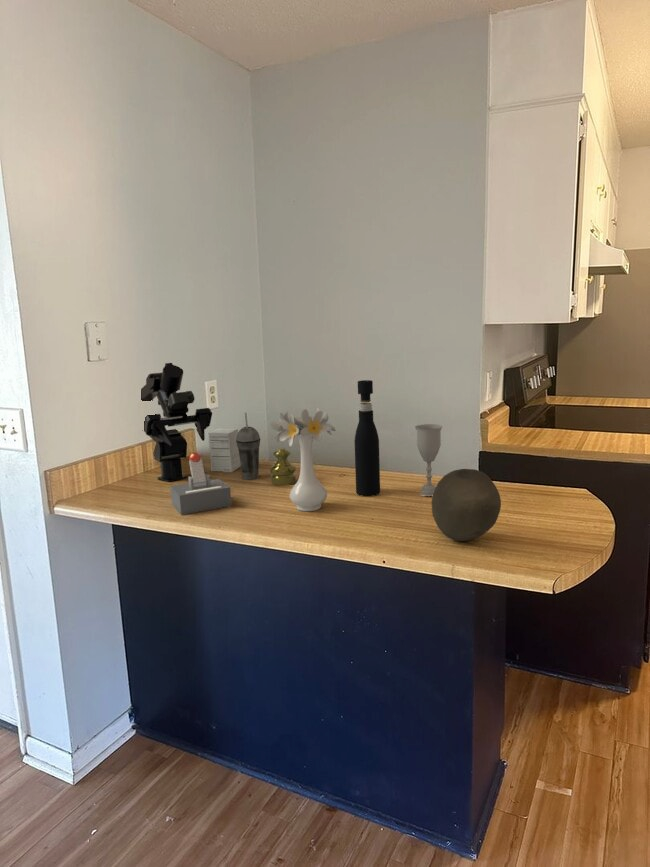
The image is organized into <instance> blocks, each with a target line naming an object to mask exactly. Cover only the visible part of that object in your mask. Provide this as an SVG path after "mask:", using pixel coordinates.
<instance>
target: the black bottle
mask: <svg viewBox="0 0 650 867" xmlns="http://www.w3.org/2000/svg"><path fill="white" fill-rule="evenodd" d="M373 385H374V383H373V380H371V379H369V380H368V379H367V380H365V379H363V380H362V379H361V380H358V381H357V394H358V395H360V403H359V410H358V423H357V427H356V430H355V434H354V461H355V462H354V464H355V465H354V466H355V467H354V469H355V470H354V471H355V493H357V494H358V496H360V495H363V496H362V497H373V496H372V495H375V496H378V495H380V494H379V493H381V475H380V473H381V472H380V471H381V470H380V469H381V468H380V466H381V465H380V438H379V434H378V429H377V427H376V425H375V421H374V410H373V407H372V406H373V405H372V402H371V400H372V399H371V394H373V393H374V388H373ZM357 494H356V495H357ZM377 494H378V495H377Z"/></svg>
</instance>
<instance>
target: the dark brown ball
mask: <svg viewBox="0 0 650 867" xmlns="http://www.w3.org/2000/svg"><path fill="white" fill-rule="evenodd" d="M435 486H436V488H435V490H434V493H433V496H432V497H431V513H432V517H433V520H434V522H435V524H436V526H437V528H438V529H439V530H440V531H441V534H443V535H444V536H446V538H448V539H451V540H453V541H457V542H468V541H471V540H474V539H478V538H480V537H482V536H483V535H485V534H486V533H487V532H488V531H489V530H491V529H492V528H493V527H494V525H495V524H496V523H497V520H498V518H499V515H500V511H501V509H502V508H501V507H502V501H501V500H502V499H501V496H500V491H499V490H498V488H497V487H496V484H495V483H494V481H493V480H492V479H491V478H490V477H489V475H488V474H486V473H485V472H483V471H481V470H477V469H473V468H472V469H471V468H459V469H455V470H451V471H450V472H448V473H447V474H445V475H443V476H442V478H441V479H440V480H438V482H437V484H436V485H435Z"/></svg>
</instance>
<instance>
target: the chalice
mask: <svg viewBox="0 0 650 867" xmlns="http://www.w3.org/2000/svg"><path fill="white" fill-rule="evenodd" d="M414 428H415V430H416V446H417V450H418V452H419V454H420V456H421V458H422V460H423V461H424V462H426V469H425V470H426V472H427V473H426V475H425V477H426V481H427V482H426V483H425V484H424V485H422V487H421V490H420V492H419V495H420V494H421V495H425V496H432V495H433V493H434V490H435V488H436V486H437V485H435V484H433V483H432V478H433V475H432V470H433V469H432V462H434V461H435V460H436V458H437V456H438V454H439V451H440V448H441V445H442V444H441V441H442V440H441V438H442V437H441V435H442V434H441V431H442V428H443V425H442V424H436V423H431V424H430V423H426V424H424V423H423V424H419V425H418V424H417V425H415V426H414ZM421 495H420V496H421Z"/></svg>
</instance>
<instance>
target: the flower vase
mask: <svg viewBox="0 0 650 867" xmlns="http://www.w3.org/2000/svg"><path fill="white" fill-rule="evenodd" d="M278 420H279V422H278V421H273V422H270V423H269V426H270V428H271V429H273V430H276V432H277V433H276V436H275V437H274V439H275V440H276V442H277V443H278V442H284V441H286V440H287V441H288V446H289V447H292V446H293V444H294V440H295V438H296V437H297V440H298V445H299V450H300V451H299V452H300V453H299V454H300V471H299V476H298V479H297V480H296V482H295V483H294V485H293V486H292V488H291V489H290V492H289V499H290V501H291V502H292V503H293V504H294V505H296V510H298V511H300V512H315V511H318V510H320V509H321V508H322V504H323V503H324V502H325V501H326V500H327V497H328V493H327V489H326V488H325V485H323V484H322V483H321V482H320V481H319V479H318V478H317V476H316V473H315V468H314V458H313V443H314V440H315V442H317V443H319V442H321V440H322V437H323V436H322V433H321V432H326V433H328V434H329V435H332V432H336V428H335V427H334V426H333V425H332V424H330V423H328V421H329V415H328V413H327V412H324V413H323V411H321V410H320V409H319V407H317V408H316V413H315V415H310V414H309V411H308V410H307V409H306V408H305V409H302V411H301V413H300V417H299V416H294V415H293V414H290V415H289V410H287V411H285V412H284V413H283V412H280V413H279V414H278ZM331 431H332V432H331Z"/></svg>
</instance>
